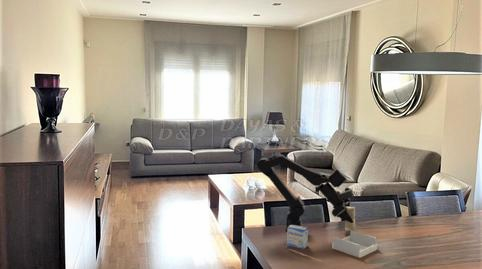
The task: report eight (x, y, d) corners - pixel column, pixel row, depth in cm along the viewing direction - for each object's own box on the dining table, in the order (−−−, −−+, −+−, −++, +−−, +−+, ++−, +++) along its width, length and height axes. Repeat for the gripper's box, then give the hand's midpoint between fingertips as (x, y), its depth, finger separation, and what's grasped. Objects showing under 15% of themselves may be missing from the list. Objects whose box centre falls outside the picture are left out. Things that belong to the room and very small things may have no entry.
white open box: (332, 249, 173) (332, 236, 173) (349, 242, 182) (350, 229, 181) (360, 259, 163) (360, 245, 163) (377, 250, 172) (377, 238, 172)
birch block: (345, 236, 189) (344, 208, 188) (346, 233, 192) (346, 206, 191) (354, 237, 187) (354, 209, 186) (355, 234, 191) (355, 207, 190)
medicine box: (286, 246, 176) (287, 226, 175) (290, 243, 180) (290, 224, 179) (304, 250, 172) (304, 230, 171) (307, 246, 176) (308, 227, 175)
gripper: (340, 187, 180) (365, 215, 177) (346, 179, 197) (369, 204, 194) (321, 202, 184) (346, 230, 181) (329, 193, 201) (351, 218, 198)
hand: (354, 220), depth 189 cm, fingers open, 7 cm apart
